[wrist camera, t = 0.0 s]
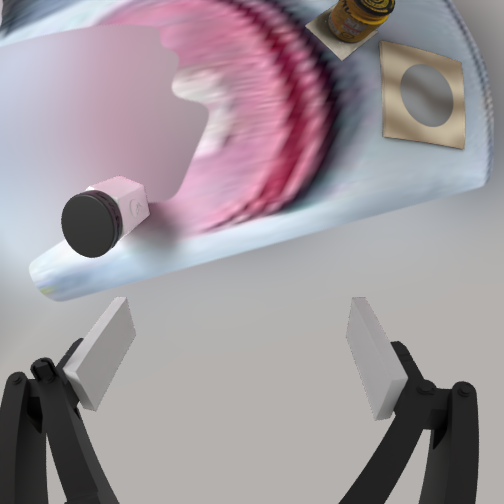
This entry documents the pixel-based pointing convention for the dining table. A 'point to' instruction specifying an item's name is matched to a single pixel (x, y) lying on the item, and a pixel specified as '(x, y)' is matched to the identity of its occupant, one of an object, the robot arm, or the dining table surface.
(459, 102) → the board
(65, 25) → the dining table surface
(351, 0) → the condiment
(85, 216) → the jar
